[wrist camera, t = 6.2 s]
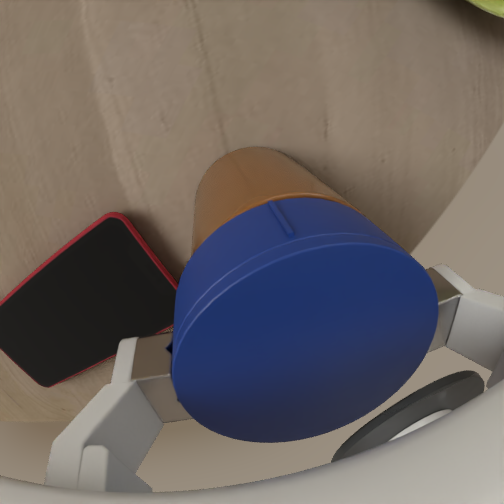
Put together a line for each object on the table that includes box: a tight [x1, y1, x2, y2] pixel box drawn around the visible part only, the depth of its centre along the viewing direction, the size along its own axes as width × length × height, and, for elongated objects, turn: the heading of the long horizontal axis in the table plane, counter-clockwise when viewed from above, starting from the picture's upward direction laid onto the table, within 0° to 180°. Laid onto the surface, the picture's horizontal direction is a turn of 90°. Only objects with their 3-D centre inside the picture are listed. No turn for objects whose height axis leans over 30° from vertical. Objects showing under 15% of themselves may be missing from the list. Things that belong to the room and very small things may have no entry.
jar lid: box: [172, 198, 439, 443], centre depth 8 cm, size 6×6×2 cm
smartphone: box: [0, 212, 178, 388], centre depth 17 cm, size 7×1×15 cm
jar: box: [191, 147, 366, 257], centre depth 12 cm, size 6×6×10 cm
